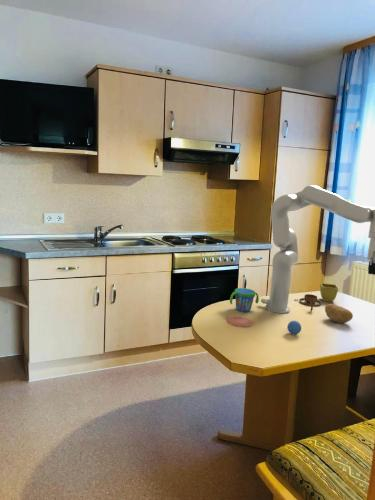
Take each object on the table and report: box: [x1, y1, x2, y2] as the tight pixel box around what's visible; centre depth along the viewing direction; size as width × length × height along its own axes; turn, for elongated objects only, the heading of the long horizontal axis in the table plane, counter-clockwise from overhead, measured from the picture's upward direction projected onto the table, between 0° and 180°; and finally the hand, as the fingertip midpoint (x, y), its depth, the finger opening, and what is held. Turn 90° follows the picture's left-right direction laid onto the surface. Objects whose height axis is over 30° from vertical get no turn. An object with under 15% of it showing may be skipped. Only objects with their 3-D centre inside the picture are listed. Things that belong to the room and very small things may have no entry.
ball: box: [287, 320, 302, 335], centre depth 182 cm, size 6×6×6 cm
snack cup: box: [229, 287, 260, 313], centre depth 209 cm, size 16×10×10 cm
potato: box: [324, 303, 354, 324], centre depth 202 cm, size 10×14×8 cm
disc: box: [225, 316, 255, 328], centre depth 193 cm, size 13×13×1 cm
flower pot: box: [319, 282, 339, 303], centre depth 238 cm, size 9×9×9 cm
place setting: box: [294, 293, 322, 312], centre depth 227 cm, size 18×20×6 cm
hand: (371, 272), depth 189 cm, fingers open, 9 cm apart
